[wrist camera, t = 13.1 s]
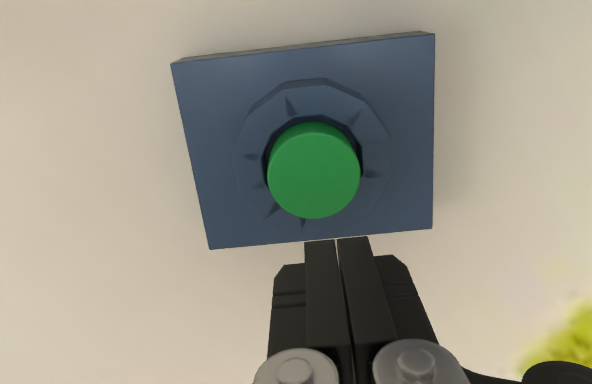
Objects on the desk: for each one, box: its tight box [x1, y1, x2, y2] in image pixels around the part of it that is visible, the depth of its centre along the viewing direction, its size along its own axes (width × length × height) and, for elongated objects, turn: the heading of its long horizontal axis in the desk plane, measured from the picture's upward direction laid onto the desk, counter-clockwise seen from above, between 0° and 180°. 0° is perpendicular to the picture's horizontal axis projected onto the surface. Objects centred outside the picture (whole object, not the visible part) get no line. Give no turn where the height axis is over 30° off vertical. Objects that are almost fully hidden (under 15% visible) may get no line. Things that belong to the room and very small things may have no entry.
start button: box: [267, 121, 361, 219], centre depth 18 cm, size 4×4×2 cm
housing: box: [170, 31, 435, 250], centre depth 20 cm, size 11×9×4 cm
